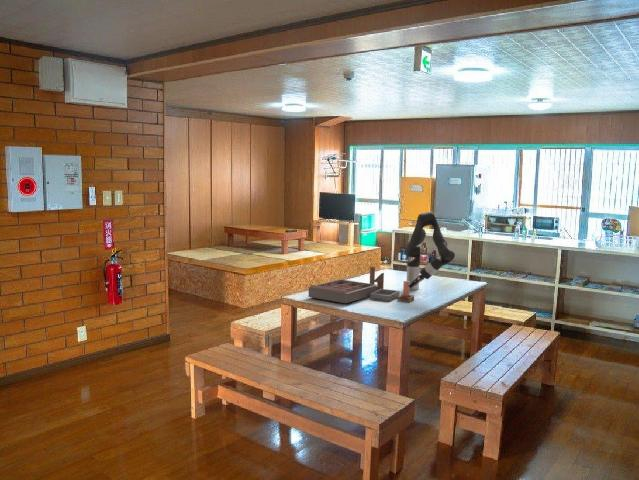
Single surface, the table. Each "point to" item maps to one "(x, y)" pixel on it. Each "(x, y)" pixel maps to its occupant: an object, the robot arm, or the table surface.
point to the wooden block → (379, 279)
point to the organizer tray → (341, 291)
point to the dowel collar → (406, 298)
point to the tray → (384, 295)
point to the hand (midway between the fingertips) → (411, 285)
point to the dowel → (406, 289)
